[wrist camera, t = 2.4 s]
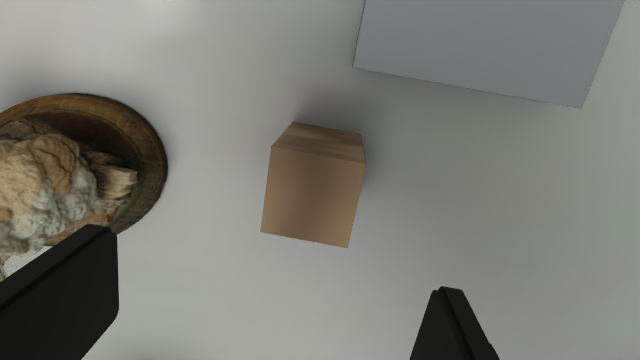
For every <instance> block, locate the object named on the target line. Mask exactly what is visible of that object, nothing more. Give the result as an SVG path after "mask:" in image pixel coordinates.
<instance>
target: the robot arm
mask: <svg viewBox="0 0 640 360" xmlns="http://www.w3.org/2000/svg"><path fill="white" fill-rule="evenodd" d="M118 311H119V291H118V255H117V236H116V234H115V233H112V230H111V228H109V227H106V226H100V225H95V224H86V225H84V226H83V227H81V228H80V229H78V230H77V231H75V232H74V233H72V234H71V235H69V236H68V237H66V238H65V239H64V240H62V241H61V242H59V243H58V244H56V245H55V246H53V247H52V248H50V249H49V250H47V251H46V252H44V253H43V254H41V255H40V256H38V257H37V258H35V259H34V260H32V261H31V262H29V263H28V264H26V265H25V266H23V267H22V268H20V269H19V270H18V271H16V272H15V273H13V274H12V275H10V276H9V277H7V278H6V279H4V280H3V281H1V282H0V360H81V359H82V358H83V357H84V356H85V354H86V353H87V352H88V351H89V350H90V349H91V347H92V346H93V345H94V344H95V343H96V341H97V340H98V339H99V338H100V337H101V336H102V334H103V333H104V332H105V331H106V330H107V328H108V327H109V326H110V325H111V324H112V323H113V321H114V320H115V318H116V316H117V314H118ZM410 360H500V359H499V357H498V355H497V353H496V351H495V350H494V348H493V346H492V345H491V344H490V343H489V342H488V340H487V338H486V336H485V334H484V332H483V330H482V328H481V326H480V324H479V322H478V320H477V318H476V316H475V314H474V312H473V310H472V308H471V306H470V304H469V302H468V300H467V298H466V296H465V295H464V293H463V291H462V290H460V289H455V288H449V287H444V286H441V287H440V288H439V289H438V291H437V290H433V292H432V293H431V296H430V299H429V302H428V305H427V308H426V311H425V314H424V317H423V320H422V323H421V326H420V329H419V332H418V335H417V338H416V341H415V344H414V347H413V351H412V354H411V357H410Z"/></svg>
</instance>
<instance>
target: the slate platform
mask: <svg viewBox="0 0 640 360" xmlns="http://www.w3.org/2000/svg"><path fill="white" fill-rule="evenodd" d="M624 2H625V0H365V3H364V8H363V13H362V18H361V24H360V29H359V34H358V39H357V45H356V50H355V55H354V60H353V66H352V67H353V68H358V69H364V70H369V71H375V72H380V73H386V74H391V75H397V76H402V77H408V78H413V79H419V80H425V81H430V82H436V83H441V84H447V85H452V86H458V87H463V88H469V89H474V90H480V91H485V92H491V93H497V94H502V95H508V96H513V97H519V98H524V99H530V100H535V101H541V102H546V103H552V104H557V105H563V106H569V107H574V108H580V109H581V108H582V106H583V103H584V101H585V98H586V96H587V93H588V91H589V88H590V86H591V83H592V81H593V79H594V76H595V74H596V71H597V69H598V66H599V64H600V61H601V59H602V56H603V54H604V51H605V49H606V46H607V44H608V41H609V39H610V36H611V34H612V31H613V29H614V26H615V24H616V21H617V19H618V16H619V14H620V12H621V9H622V7H623V4H624Z"/></svg>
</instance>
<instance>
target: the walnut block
mask: <svg viewBox="0 0 640 360" xmlns="http://www.w3.org/2000/svg"><path fill="white" fill-rule="evenodd" d="M365 167H366V160H365V155H364V150H363V145H362V140H361V135H360V134H356V133H350V132H345V131H340V130H334V129H329V128H323V127H318V126H312V125H307V124H301V123H296V122H292V124H291V125H290V126H289V127H288V128H287V129H286V131H285V132H284V133H283V134H282V135H281V136H280V137H279V139H278V140H277V141H276V142H275V143H274V144H273V145H272V147H271V154H270V162H269V169H268V177H267V185H266V192H265V200H264V208H263V215H262V223H261V231H260V232H264V233H269V234H275V235H280V236H285V237H291V238H296V239H301V240H307V241H312V242H318V243H323V244H328V245H334V246H339V247H344V248H348V244H349V240H350V235H351V230H352V226H353V221H354V217H355V212H356V208H357V203H358V199H359V194H360V190H361V185H362V181H363V176H364V172H365Z"/></svg>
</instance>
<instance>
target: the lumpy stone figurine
mask: <svg viewBox="0 0 640 360" xmlns="http://www.w3.org/2000/svg"><path fill="white" fill-rule="evenodd" d="M163 150H164V149H163V148H162V145H161V142H160V141H159V138H158V136H157V133H155V131H154V130H153V128H152V127H151V125H150V124H149V123H148V122H146V120H145V119H144V118H142V117H141V116H140V115H139V114H138V113H137V112H136V111H135V110H133V109H131V108H129V107H128V106H126V105H124V104H122V103H120V102H118V101H114V100H111V99H108V98H105V97H100V96H94V95H90V94H79V93H78V94H59V95H52V96H45V97H39V98H35V99H32V100H29V101H26V102H23V103H21V104H18V105H15V106H13V107H11V108H9V109H7V110H5V111H3V112H1V113H0V268H1V267H2V266H3V265H4V262H5V261H6V260H8V258H9V257H10V256H12V255H15V256H20V257H22V256H31V255H34V254H36V253H37V252H39V251H40V250H41V249H42V248H43V246H55V245H56V244H58V243H59V242H61V241H62V240H64V239H65V238H66V237H68V236H69V235H71V234H72V233H74V232H75V231H77V230H78V229H80V228H81V227H83V226H84V225H86V224H95V225H100V226H106V227H109V228H111V230H112V233H115V234H116V235H117V234H119V233H120V232H123V231H124V230H126V229H128V228H129V227H131V226H132V225H134V224H135V223H136V222H137V221H139V220H140V219H142V217H143V216H144V215H145V214H146V213H147V212H148V211H149V210H150V209H151V207H152V206H153V205H154V203H155V202H156V201H157V200H158V198H159V197H160V193H161V188H162V185H163V182H165V181H166V175H167V163H166V162H167V161H166V158H165V154H164V151H163Z"/></svg>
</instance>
